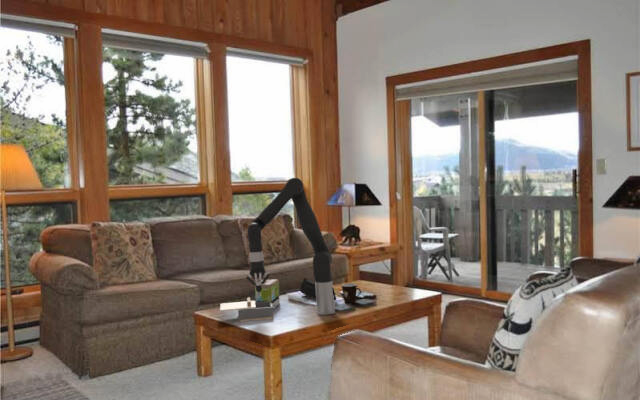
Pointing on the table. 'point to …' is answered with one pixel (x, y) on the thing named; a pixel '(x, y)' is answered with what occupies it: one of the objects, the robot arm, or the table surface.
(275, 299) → the tea box
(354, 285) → the coffee mug
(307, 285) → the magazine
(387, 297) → the table surface
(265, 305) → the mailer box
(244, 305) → the lid
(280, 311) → the table surface
